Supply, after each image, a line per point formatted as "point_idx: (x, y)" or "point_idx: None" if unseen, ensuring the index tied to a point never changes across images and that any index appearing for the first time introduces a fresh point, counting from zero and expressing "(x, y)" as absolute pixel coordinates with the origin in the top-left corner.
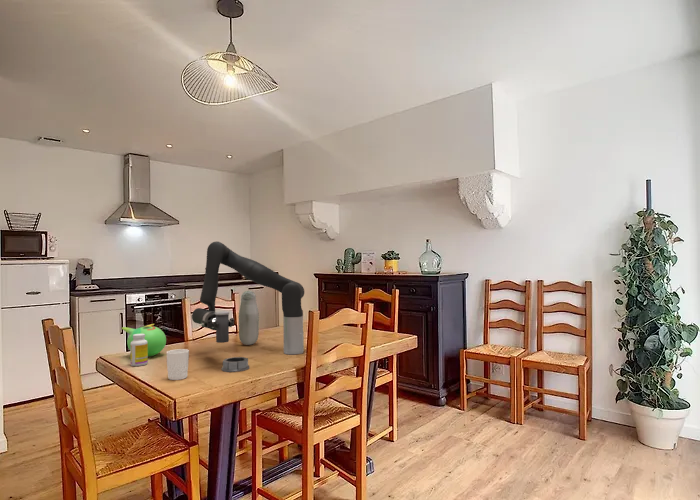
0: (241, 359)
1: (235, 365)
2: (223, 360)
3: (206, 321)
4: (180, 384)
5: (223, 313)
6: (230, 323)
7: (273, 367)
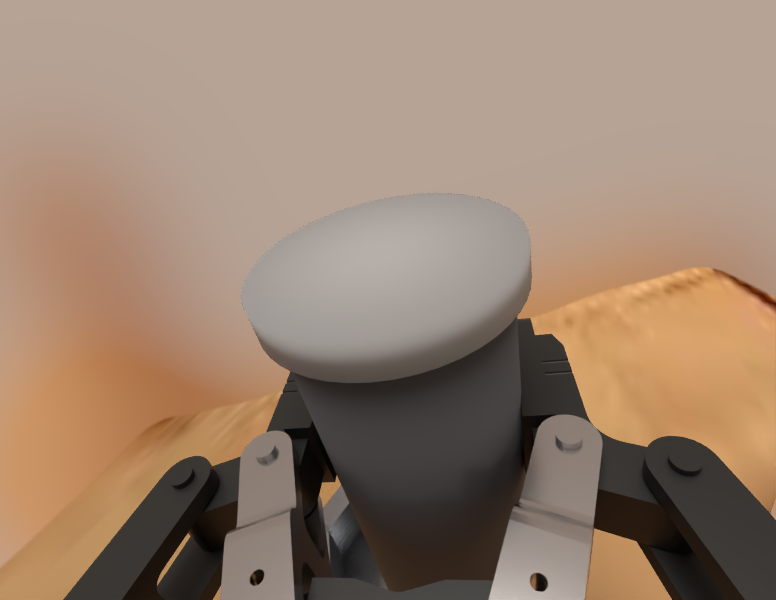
0: None
1: None
2: None
3: (771, 579)
4: (760, 402)
5: (406, 201)
6: None
7: None
